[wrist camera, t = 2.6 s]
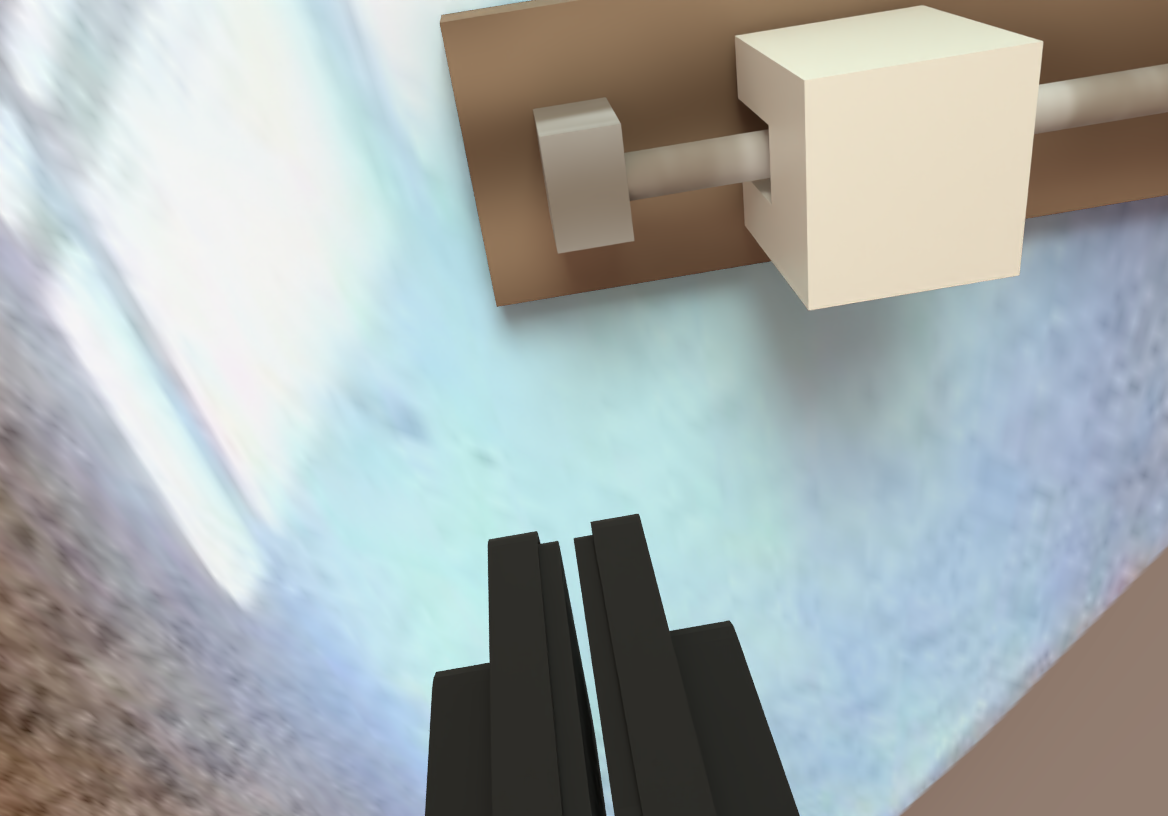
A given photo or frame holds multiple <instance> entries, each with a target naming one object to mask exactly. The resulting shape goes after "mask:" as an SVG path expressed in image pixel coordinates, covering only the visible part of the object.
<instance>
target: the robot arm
mask: <svg viewBox="0 0 1168 816" xmlns="http://www.w3.org/2000/svg"><path fill="white" fill-rule="evenodd" d="M591 528H592V534H593V535H589V536H584V537H578V538H574V544H575V551H576V558H577V565H578V571H579V578H580V585H581V592H582V598H583V605H584V612H585V619H586V625H587V632H588V639H589V646H590V652H591V659H592V666H593V673H594V679H595V686H596V693H597V700H598V706H599V713H600V720H601V727H602V733H603V740H604V747H605V754H606V760H607V767H608V774H609V781H610V787H611V794H612V801H613V808H614V814H615V816H800V815H799V812H798V809H797V807H796V804H795V801H794V798H793V795H792V792H791V789H790V786H789V784H788V781H787V778H786V775H785V772H784V769H783V766H782V763H781V761H780V758H779V755H778V752H777V749H776V746H775V743H774V740H773V737H772V735H771V732H770V729H769V726H768V723H767V720H766V717H765V714H764V712H763V709H762V706H761V703H760V700H759V697H758V694H757V691H756V689H755V686H754V683H753V680H752V677H751V674H750V671H749V668H748V665H747V663H746V660H745V657H744V654H743V651H742V648H741V645H740V642H739V640H738V637H737V634H736V632H735V629H734V627H733V625H732V623H731V622H730V621H724V622H718V623H713V624H707V625H701V626H696V627H690V628H684V629H679V630H673V631H669V628H668V624H667V620H666V616H665V613H664V609H663V605H662V601H661V597H660V593H659V589H658V585H657V582H656V578H655V574H654V570H653V566H652V562H651V558H650V554H649V551H648V547H647V543H646V539H645V535H644V531H643V527H642V524H641V520H640V516H639V514H634V515H628V516H622V517H616V518H610V519H605V520H599V521H593V522H591ZM488 590H489V652H490V663H485V664H479V665H473V666H468V667H462V668H456V669H451V670H445V671H439V672H436V673H435V676H434V679H433V687H432V701H431V719H430V737H429V755H428V772H427V790H426V808H425V816H606V810H605V803H604V796H603V788H602V781H601V774H600V767H599V760H598V752H597V745H596V738H595V732H594V726H593V720H592V714H591V709H590V703H589V698H588V693H587V688H586V682H585V677H584V672H583V667H582V661H581V656H580V651H579V646H578V640H577V635H576V630H575V625H574V620H573V614H572V609H571V604H570V599H569V593H568V588H567V583H566V578H565V572H564V567H563V562H562V557H561V551H560V546H559V542H558V541H555V542H549V543H543V544H540V540H539V536H538V533H537V531H535V532H530V533H524V534H518V535H512V536H506V537H501V538H495V539H489V541H488Z"/></svg>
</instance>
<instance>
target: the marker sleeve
mask: <svg viewBox="0 0 1168 816" xmlns="http://www.w3.org/2000/svg"><path fill="white" fill-rule="evenodd" d="M1042 50H1043V41H1041V40H1037V39H1034V38H1031V37H1027V36H1024V35H1021V34H1017V33H1014V32H1011V31H1007V30H1004V29H1001V28H997V27H994V26H991V25H987V24H984V23H981V22H977V21H974V20H971V19H967V18H964V17H961V16H957V15H954V14H951V13H947V12H944V11H941V10H937V9H934V8H931V7H927V6H924V5H920V6H914V7H908V8H902V9H896V10H890V11H884V12H877V13H871V14H865V15H859V16H853V17H847V18H841V19H834V20H828V21H822V22H816V23H810V24H804V25H798V26H791V27H785V28H779V29H773V30H767V31H761V32H755V33H748V34H742V35H736V36H735V51H736V69H737V88H738V99H739V100H741V101H742V102H743V103H744V104H745V105H746V106H747V107H749V108H750V109H751V110H752V111H753V112H754V113H755V114H757V115H758V116H759V117H760V118H761V119H762V120H763V121H765V122H766V123H767V124H768V125H769V149H770V176H771V178H766V179H760V180H754V181H748V182H743V200H744V219H745V226H746V228H747V229H748V230H749V232H750V233H751V234H752V236H753V237H754V238H755V240H756V241H757V242H758V244H759V245H760V246H761V248H762V249H763V250H764V252H765V253H766V254H767V256H768V257H769V258H770V260H771V261H772V262H773V264H774V265H775V266H776V268H777V269H778V270H779V272H780V273H781V274H782V276H783V277H784V278H785V280H786V281H787V282H788V284H789V285H790V286H791V288H792V289H793V290H794V292H795V293H796V294H797V296H798V297H799V298H800V300H801V301H802V302H803V304H804V305H805V306H806V308H807V309H808V310H815V309H821V308H827V307H833V306H839V305H845V304H851V303H857V302H863V301H869V300H875V299H881V298H887V297H893V296H899V295H905V294H911V293H917V292H923V291H929V290H935V289H941V288H946V287H952V286H958V285H964V284H970V283H976V282H982V281H988V280H994V279H1000V278H1006V277H1012V276H1018V275H1019V274H1020V264H1021V254H1022V245H1023V235H1024V225H1025V215H1026V206H1027V196H1028V186H1029V177H1030V167H1031V157H1032V147H1033V138H1034V128H1035V118H1036V108H1037V99H1038V89H1039V79H1040V70H1041V60H1042Z"/></svg>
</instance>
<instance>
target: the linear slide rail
mask: <svg viewBox="0 0 1168 816" xmlns="http://www.w3.org/2000/svg"><path fill="white" fill-rule="evenodd" d="M920 5H924V6H927V7H931V8H934V9H937V10H941V11H944V12H947V13H951V14H954V15H957V16H961V17H964V18H967V19H971V20H974V21H977V22H981V23H984V24H987V25H991V26H994V27H997V28H1001V29H1004V30H1007V31H1011V32H1014V33H1017V34H1021V35H1024V36H1027V37H1031V38H1034V39H1037V40H1041V41H1043V50H1042V60H1041V70H1040V79H1039V89H1038V99H1037V108H1036V118H1035V128H1034V138H1033V147H1032V157H1031V167H1030V177H1029V186H1028V196H1027V206H1026V215H1025V219H1027V218H1033V217H1039V216H1045V215H1051V214H1057V213H1063V212H1069V211H1075V210H1081V209H1087V208H1093V207H1099V206H1105V205H1111V204H1117V203H1123V202H1129V201H1135V200H1141V199H1147V198H1153V197H1159V196H1165V195H1168V0H532V1H526V2H519V3H513V4H507V5H501V6H495V7H489V8H482V9H476V10H470V11H464V12H458V13H451V14H445V15H442V16H441V20H440V27H441V32H442V37H443V42H444V47H445V52H446V57H447V62H448V67H449V72H450V77H451V81H452V86H453V91H454V96H455V101H456V106H457V111H458V116H459V121H460V126H461V131H462V136H463V141H464V146H465V151H466V156H467V161H468V166H469V171H470V176H471V181H472V186H473V191H474V196H475V201H476V206H477V211H478V216H479V221H480V226H481V231H482V236H483V241H484V246H485V251H486V255H487V260H488V265H489V270H490V275H491V280H492V285H493V290H494V295H495V300H496V305H497V307H498V306H504V305H510V304H516V303H522V302H528V301H534V300H540V299H546V298H552V297H558V296H564V295H570V294H576V293H582V292H588V291H594V290H600V289H606V288H612V287H618V286H624V285H631V284H637V283H643V282H649V281H655V280H661V279H667V278H673V277H679V276H685V275H691V274H697V273H703V272H709V271H715V270H721V269H727V268H733V267H739V266H745V265H751V264H757V263H763V262H769V261H771V260H770V258H769V257H768V256H767V254H766V253H765V252H764V250H763V249H762V248H761V246H760V245H759V244H758V242H757V241H756V240H755V238H754V237H753V236H752V234H751V233H750V232H749V230H748V229H747V228H746V226H745V219H744V200H743V182H748V181H754V180H760V179H766V178H771V176H770V149H769V125H768V124H767V123H766V122H765V121H763V120H762V119H761V118H760V117H759V116H758V115H757V114H755V113H754V112H753V111H752V110H751V109H750V108H749V107H747V106H746V105H745V104H744V103H743V102H742V101H741V100H739V99H738V88H737V69H736V51H735V36H736V35H742V34H748V33H755V32H761V31H767V30H773V29H779V28H785V27H791V26H798V25H804V24H810V23H816V22H822V21H828V20H834V19H841V18H847V17H853V16H859V15H865V14H871V13H877V12H884V11H890V10H896V9H902V8H908V7H914V6H920Z"/></svg>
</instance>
